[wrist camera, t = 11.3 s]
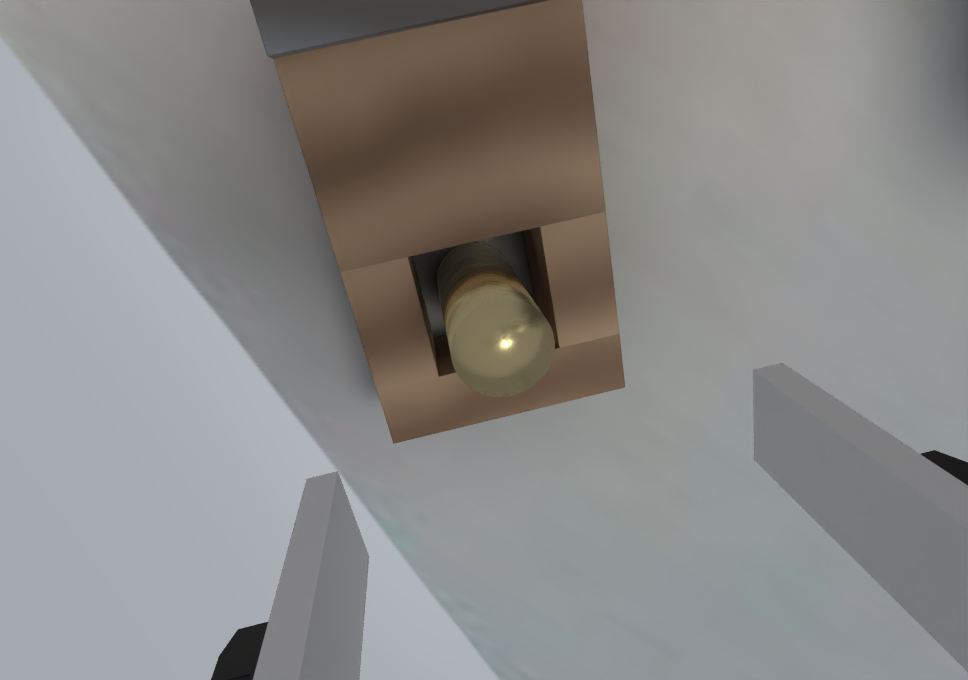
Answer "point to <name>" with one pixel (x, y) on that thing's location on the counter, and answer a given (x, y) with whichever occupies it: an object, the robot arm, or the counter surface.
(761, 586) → the counter surface
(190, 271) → the counter surface
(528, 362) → the brass cylinder
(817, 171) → the counter surface
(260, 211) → the counter surface
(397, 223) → the jig
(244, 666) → the robot arm
